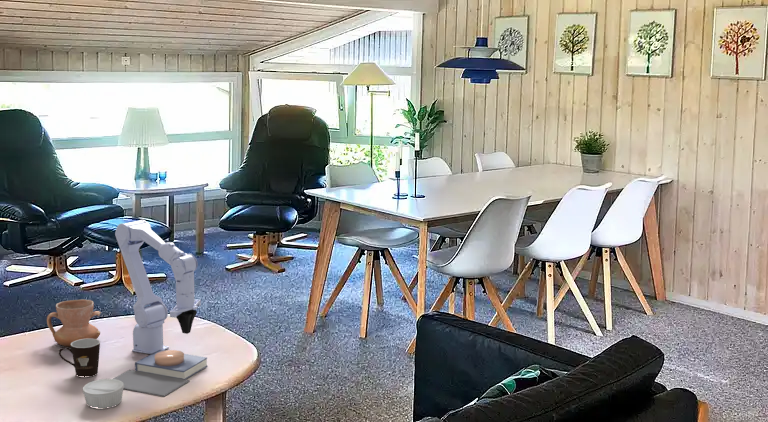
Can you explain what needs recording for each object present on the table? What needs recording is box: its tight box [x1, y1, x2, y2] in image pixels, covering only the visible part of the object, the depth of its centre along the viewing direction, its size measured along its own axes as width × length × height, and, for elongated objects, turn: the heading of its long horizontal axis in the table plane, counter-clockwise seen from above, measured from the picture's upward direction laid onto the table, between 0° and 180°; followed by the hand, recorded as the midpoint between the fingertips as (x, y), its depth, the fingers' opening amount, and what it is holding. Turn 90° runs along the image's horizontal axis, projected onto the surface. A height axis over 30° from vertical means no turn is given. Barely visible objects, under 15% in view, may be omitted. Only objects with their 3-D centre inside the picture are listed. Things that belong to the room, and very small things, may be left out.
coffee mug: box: [58, 338, 101, 377], centre depth 269 cm, size 12×9×10 cm
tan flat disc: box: [155, 349, 185, 366], centre depth 272 cm, size 9×9×2 cm
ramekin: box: [82, 378, 124, 408], centre depth 247 cm, size 11×11×5 cm
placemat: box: [112, 369, 190, 397], centre depth 262 cm, size 22×13×1 cm, turn 69°
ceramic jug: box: [46, 299, 102, 348], centre depth 295 cm, size 18×14×14 cm
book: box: [134, 350, 208, 380], centre depth 274 cm, size 18×13×3 cm
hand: (186, 332), depth 280 cm, fingers closed
